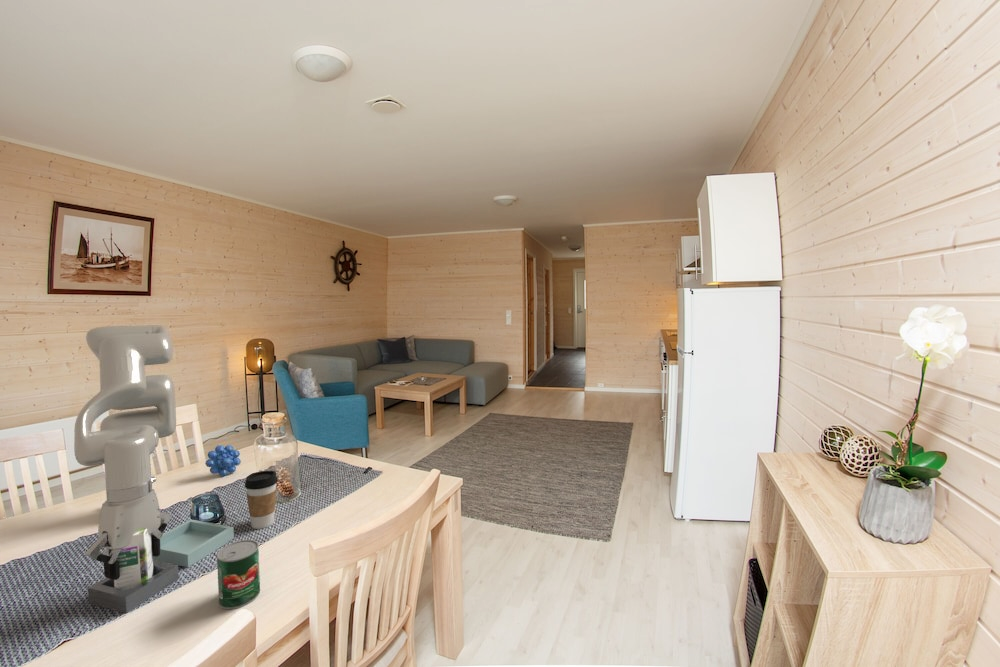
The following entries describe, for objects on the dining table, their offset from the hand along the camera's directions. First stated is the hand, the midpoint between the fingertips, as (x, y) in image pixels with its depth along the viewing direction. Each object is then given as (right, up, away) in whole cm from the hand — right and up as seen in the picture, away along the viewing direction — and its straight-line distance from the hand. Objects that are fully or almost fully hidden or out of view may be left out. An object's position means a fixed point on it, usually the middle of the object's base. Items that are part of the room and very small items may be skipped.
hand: (134, 565), depth 94 cm
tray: (0, -5, +17) cm, 18 cm away
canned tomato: (+24, -7, -1) cm, 25 cm away
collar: (0, -6, +1) cm, 6 cm away
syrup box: (0, -6, +1) cm, 6 cm away
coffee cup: (+12, -4, +29) cm, 32 cm away
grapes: (-20, -1, +61) cm, 64 cm away
